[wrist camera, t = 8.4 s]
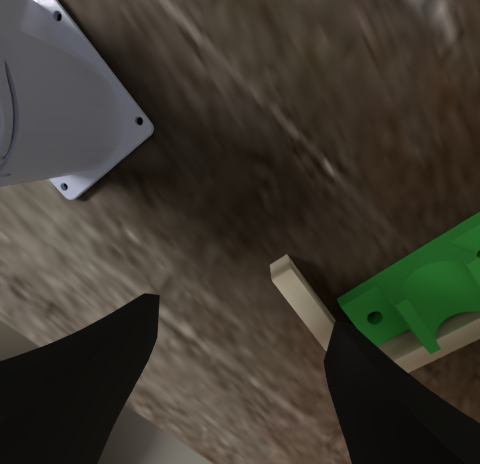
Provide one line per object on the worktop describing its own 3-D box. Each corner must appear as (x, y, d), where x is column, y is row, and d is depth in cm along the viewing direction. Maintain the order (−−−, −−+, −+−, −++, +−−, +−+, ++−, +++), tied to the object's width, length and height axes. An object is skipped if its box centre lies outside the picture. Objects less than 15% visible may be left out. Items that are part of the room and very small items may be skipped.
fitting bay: (264, 268, 21) (265, 284, 18) (544, 89, 16) (593, 80, 14) (344, 372, 23) (354, 398, 21) (606, 240, 19) (656, 254, 17)
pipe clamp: (531, 225, 15) (564, 286, 16) (478, 210, 19) (508, 260, 20) (351, 330, 18) (389, 377, 19) (335, 299, 21) (367, 340, 22)
